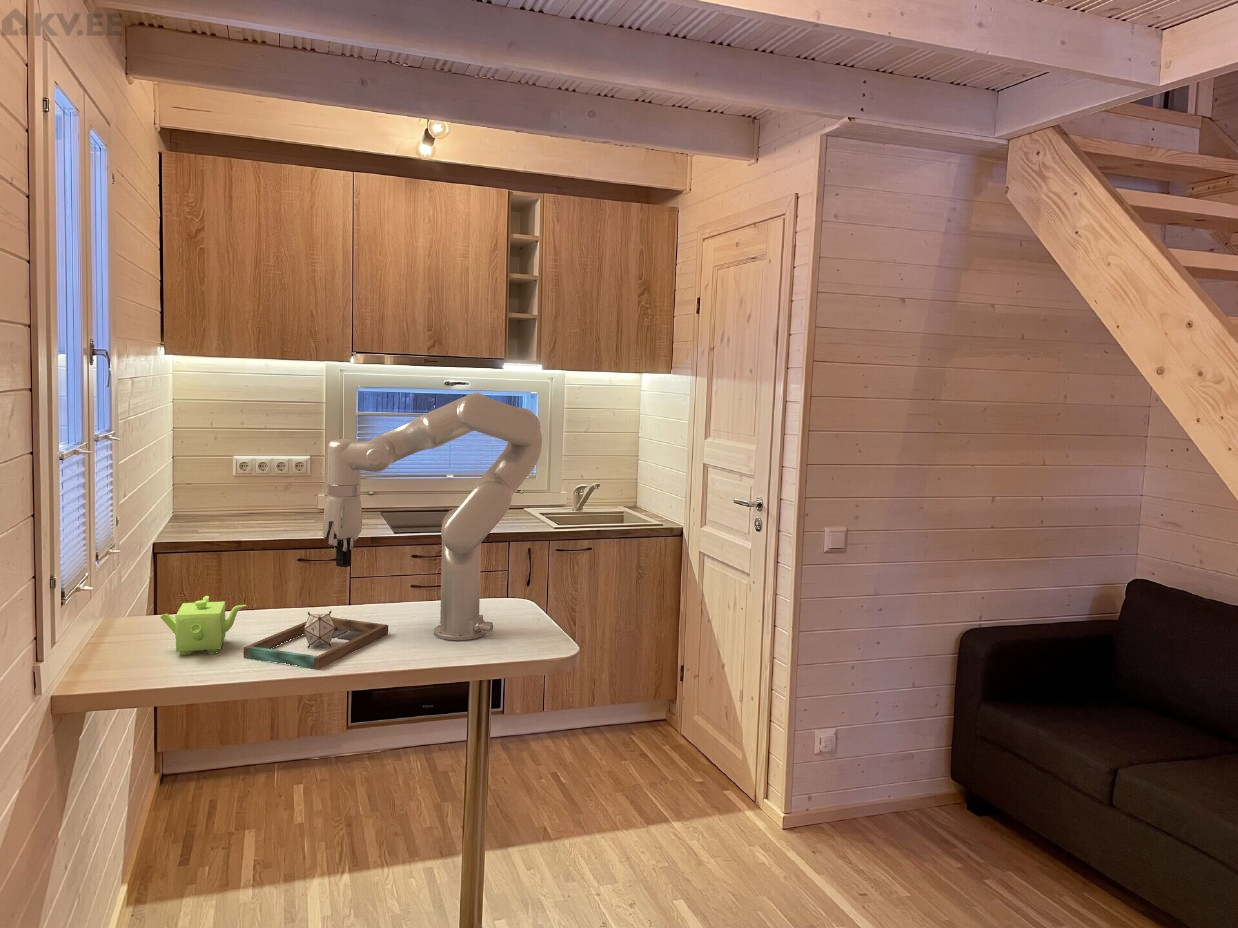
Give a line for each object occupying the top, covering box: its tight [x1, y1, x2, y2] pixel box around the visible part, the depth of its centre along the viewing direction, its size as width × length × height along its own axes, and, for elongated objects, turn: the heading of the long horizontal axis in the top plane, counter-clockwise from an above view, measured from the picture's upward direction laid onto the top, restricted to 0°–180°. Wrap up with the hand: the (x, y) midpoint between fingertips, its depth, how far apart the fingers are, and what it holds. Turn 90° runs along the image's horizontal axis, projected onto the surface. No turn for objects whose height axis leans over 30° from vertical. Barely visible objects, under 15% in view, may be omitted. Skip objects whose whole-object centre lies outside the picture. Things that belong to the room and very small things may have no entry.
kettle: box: [159, 595, 247, 656], centre depth 207 cm, size 15×14×11 cm
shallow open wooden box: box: [243, 616, 389, 670], centre depth 213 cm, size 19×28×2 cm
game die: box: [300, 610, 339, 649], centre depth 212 cm, size 9×8×10 cm
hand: (343, 566), depth 220 cm, fingers closed
